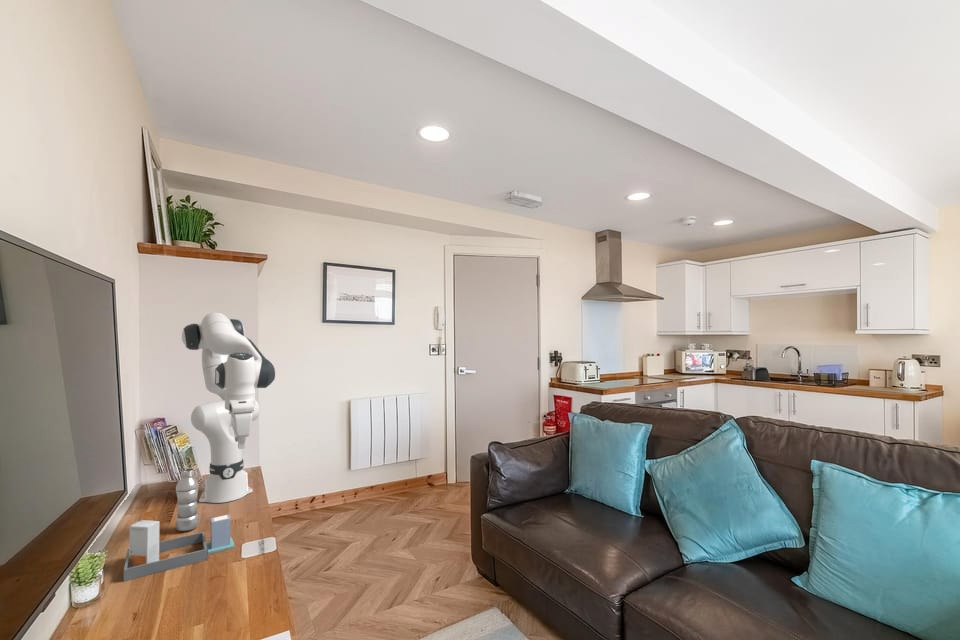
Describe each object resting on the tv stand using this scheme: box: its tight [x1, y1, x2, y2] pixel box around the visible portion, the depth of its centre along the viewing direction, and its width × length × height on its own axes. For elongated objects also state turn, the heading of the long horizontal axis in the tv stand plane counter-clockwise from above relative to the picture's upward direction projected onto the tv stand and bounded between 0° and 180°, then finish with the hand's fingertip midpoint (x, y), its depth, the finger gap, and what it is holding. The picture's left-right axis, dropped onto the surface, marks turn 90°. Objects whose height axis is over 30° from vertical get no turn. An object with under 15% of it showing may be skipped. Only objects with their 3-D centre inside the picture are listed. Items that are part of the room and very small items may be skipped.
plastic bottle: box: [175, 468, 200, 532], centre depth 150 cm, size 6×7×20 cm
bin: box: [123, 531, 208, 582], centre depth 131 cm, size 14×19×3 cm
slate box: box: [210, 513, 231, 549], centre depth 138 cm, size 4×5×8 cm
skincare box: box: [128, 519, 161, 568], centre depth 127 cm, size 6×4×12 cm
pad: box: [206, 536, 235, 555], centre depth 138 cm, size 7×7×1 cm
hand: (239, 444), depth 146 cm, fingers open, 8 cm apart
